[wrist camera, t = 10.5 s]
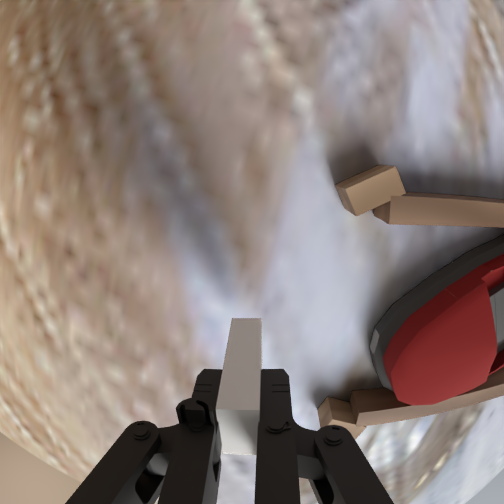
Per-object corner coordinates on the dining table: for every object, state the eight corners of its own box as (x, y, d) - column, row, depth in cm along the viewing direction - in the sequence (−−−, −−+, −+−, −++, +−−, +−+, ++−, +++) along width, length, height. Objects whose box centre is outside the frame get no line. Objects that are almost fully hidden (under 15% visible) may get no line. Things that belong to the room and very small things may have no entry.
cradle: (335, 162, 17) (345, 163, 15) (590, 195, 16) (607, 200, 14) (315, 420, 23) (319, 443, 20) (546, 371, 22) (557, 383, 19)
